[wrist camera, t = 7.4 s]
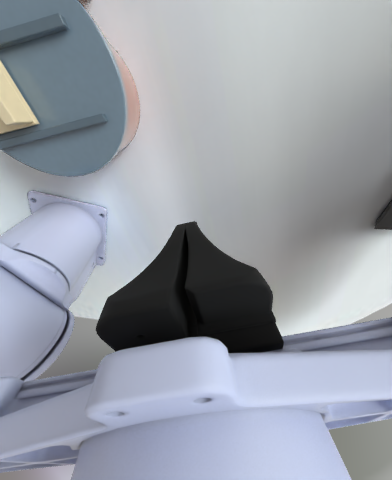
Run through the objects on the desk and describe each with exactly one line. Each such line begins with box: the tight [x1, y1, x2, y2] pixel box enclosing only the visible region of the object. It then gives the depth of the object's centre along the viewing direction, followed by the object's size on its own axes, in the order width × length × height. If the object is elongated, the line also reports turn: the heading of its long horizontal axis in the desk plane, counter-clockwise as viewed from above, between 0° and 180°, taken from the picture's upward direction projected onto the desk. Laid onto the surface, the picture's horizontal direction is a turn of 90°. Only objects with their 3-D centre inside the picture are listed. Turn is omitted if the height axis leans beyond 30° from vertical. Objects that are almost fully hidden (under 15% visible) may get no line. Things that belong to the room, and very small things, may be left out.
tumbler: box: [0, 0, 140, 177], centre depth 12 cm, size 9×9×7 cm
